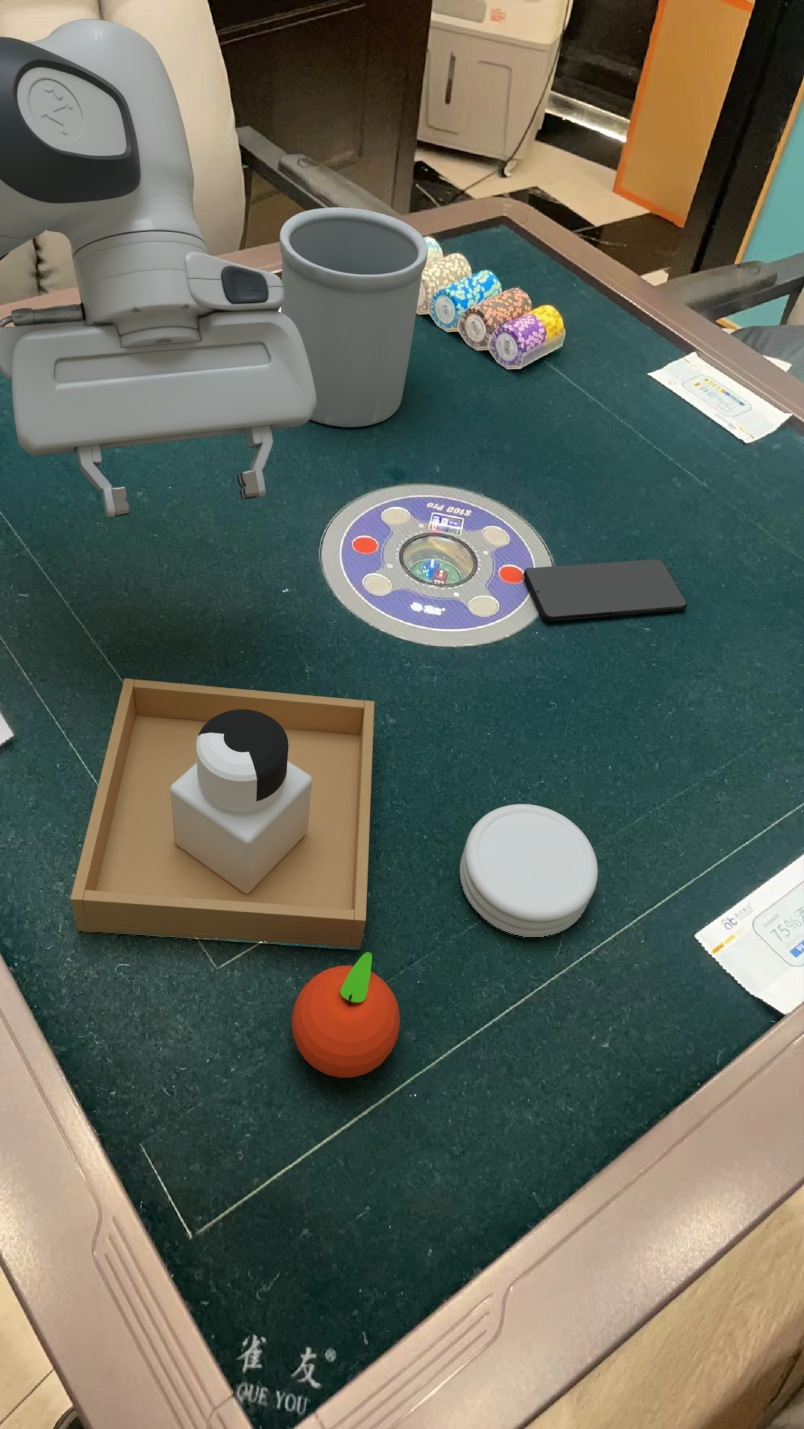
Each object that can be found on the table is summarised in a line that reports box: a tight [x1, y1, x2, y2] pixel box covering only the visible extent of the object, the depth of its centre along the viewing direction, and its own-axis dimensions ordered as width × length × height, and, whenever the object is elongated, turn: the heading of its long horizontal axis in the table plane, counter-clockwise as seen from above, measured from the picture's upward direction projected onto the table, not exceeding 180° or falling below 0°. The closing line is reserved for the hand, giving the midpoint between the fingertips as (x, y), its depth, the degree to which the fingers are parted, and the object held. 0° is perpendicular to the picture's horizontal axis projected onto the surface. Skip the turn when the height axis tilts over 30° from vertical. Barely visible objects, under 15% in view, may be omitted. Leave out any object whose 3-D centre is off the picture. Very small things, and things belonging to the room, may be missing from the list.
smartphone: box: [522, 558, 688, 622], centre depth 101 cm, size 7×1×15 cm
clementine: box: [291, 951, 401, 1079], centre depth 67 cm, size 8×7×7 cm
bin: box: [69, 677, 375, 949], centre depth 78 cm, size 20×20×4 cm
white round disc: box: [459, 803, 599, 938], centre depth 78 cm, size 10×10×4 cm
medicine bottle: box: [170, 709, 312, 893], centre depth 73 cm, size 7×7×12 cm
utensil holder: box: [279, 206, 429, 428], centre depth 111 cm, size 15×15×18 cm
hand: (187, 506), depth 72 cm, fingers open, 8 cm apart
